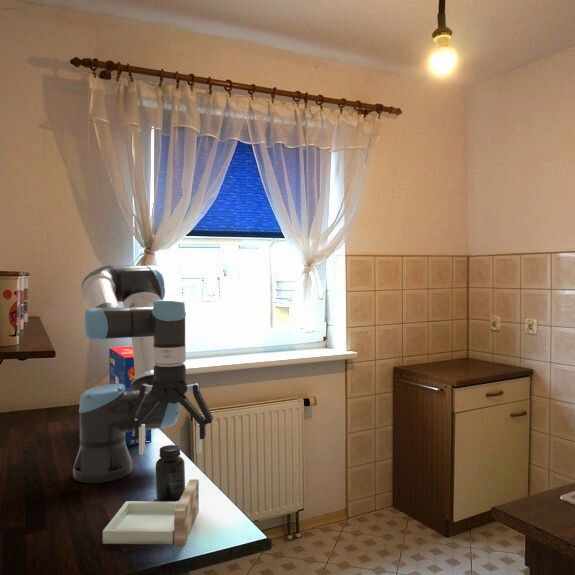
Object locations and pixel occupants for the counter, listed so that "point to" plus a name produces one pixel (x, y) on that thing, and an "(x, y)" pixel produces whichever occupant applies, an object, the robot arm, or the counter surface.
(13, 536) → the counter surface
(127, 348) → the pasta box
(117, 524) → the sliding tray
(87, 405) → the robot arm
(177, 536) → the backstop wall
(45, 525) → the counter surface
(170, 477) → the supplement bottle
